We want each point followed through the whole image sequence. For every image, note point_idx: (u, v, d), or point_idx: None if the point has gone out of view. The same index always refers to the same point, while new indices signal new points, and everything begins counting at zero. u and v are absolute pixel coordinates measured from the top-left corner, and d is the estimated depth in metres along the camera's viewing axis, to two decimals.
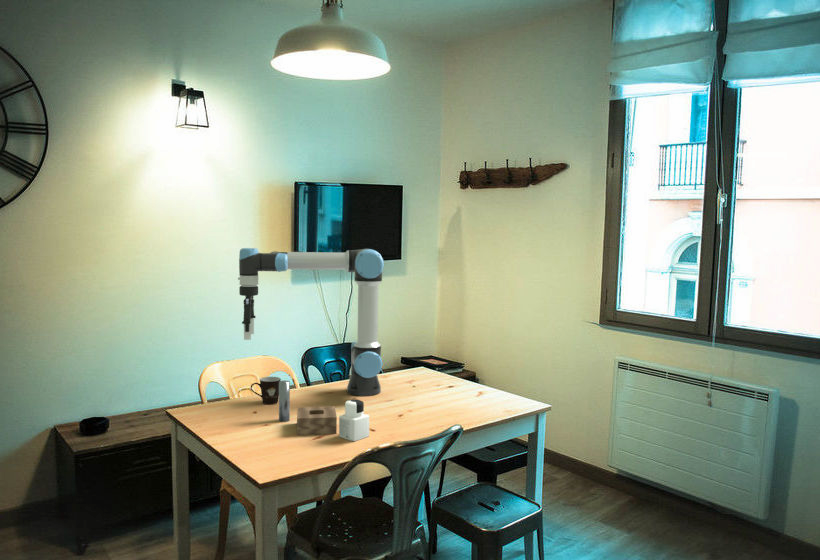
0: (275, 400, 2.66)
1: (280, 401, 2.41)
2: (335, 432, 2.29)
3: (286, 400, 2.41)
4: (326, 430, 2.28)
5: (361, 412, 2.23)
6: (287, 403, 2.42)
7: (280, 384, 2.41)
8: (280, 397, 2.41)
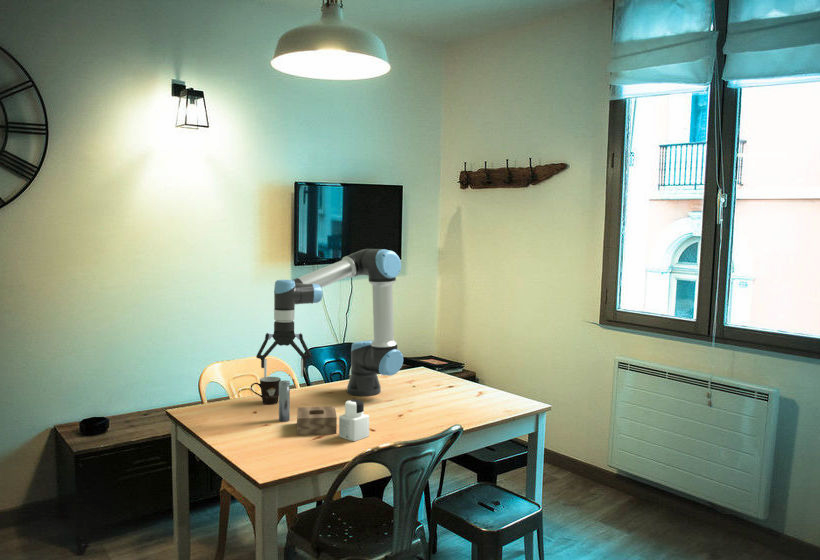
0: (275, 400, 2.66)
1: (280, 401, 2.41)
2: (335, 432, 2.29)
3: (286, 400, 2.41)
4: (326, 430, 2.28)
5: (361, 412, 2.23)
6: (287, 403, 2.42)
7: (280, 384, 2.41)
8: (280, 397, 2.41)
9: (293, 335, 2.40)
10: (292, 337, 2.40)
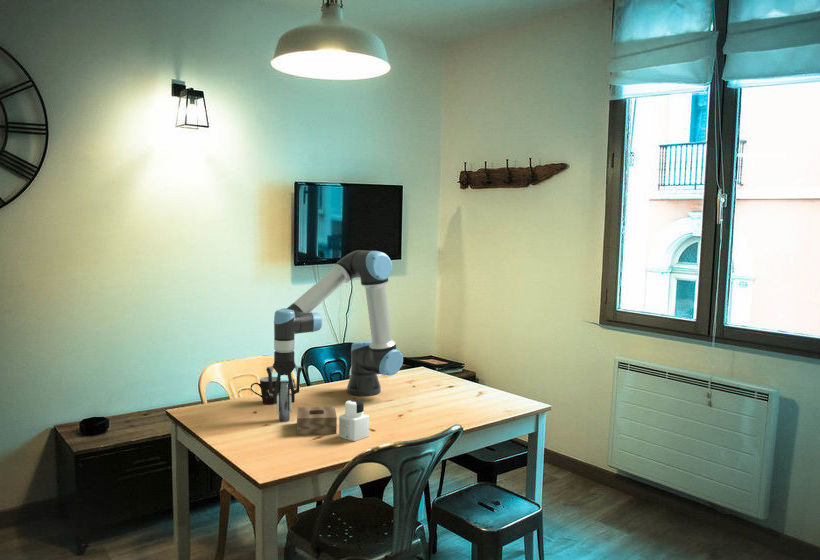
0: None
1: (280, 401, 2.41)
2: (335, 432, 2.29)
3: (286, 400, 2.41)
4: (326, 430, 2.28)
5: (361, 412, 2.23)
6: (287, 403, 2.42)
7: (280, 384, 2.41)
8: (280, 397, 2.41)
9: (293, 365, 2.41)
10: (292, 367, 2.41)
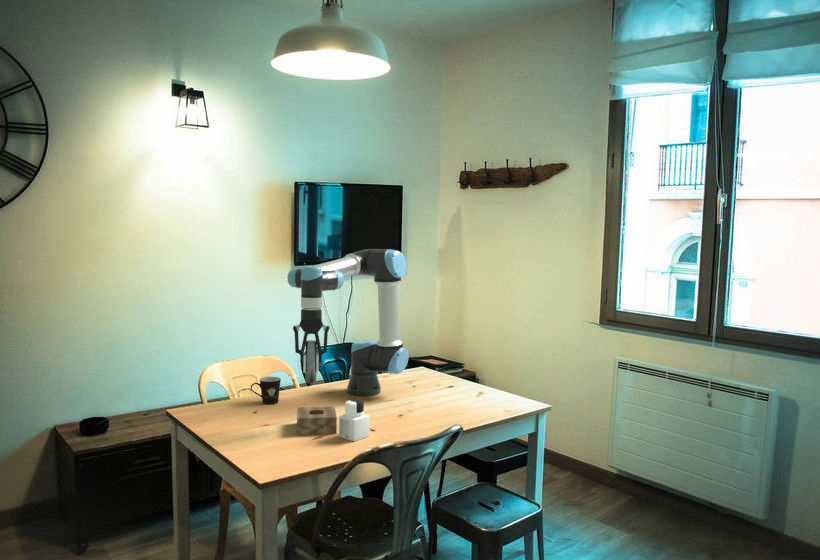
0: (275, 400, 2.66)
1: (307, 361, 2.32)
2: (335, 432, 2.29)
3: (313, 360, 2.32)
4: (326, 430, 2.28)
5: (361, 412, 2.23)
6: (314, 363, 2.33)
7: (307, 343, 2.32)
8: (307, 357, 2.32)
9: (321, 324, 2.32)
10: (319, 325, 2.32)
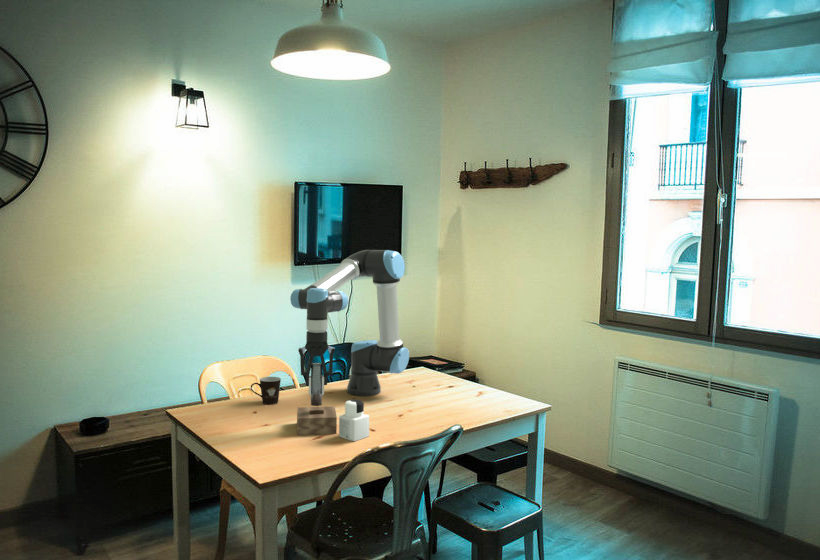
0: (275, 400, 2.66)
1: (312, 384, 2.32)
2: (335, 432, 2.29)
3: (319, 383, 2.32)
4: (326, 430, 2.28)
5: (361, 412, 2.23)
6: (319, 386, 2.32)
7: (312, 366, 2.31)
8: (312, 380, 2.31)
9: (326, 346, 2.32)
10: (325, 348, 2.32)
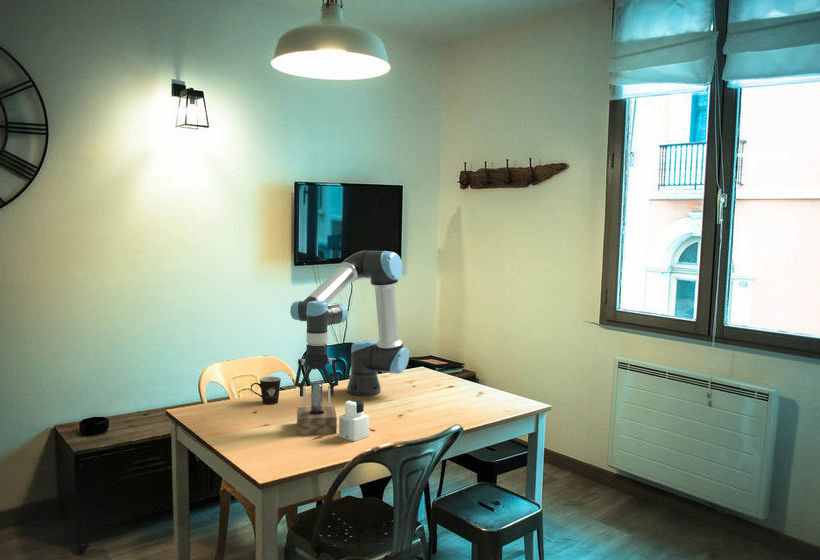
0: (275, 400, 2.66)
1: (313, 403, 2.32)
2: (335, 432, 2.29)
3: (319, 402, 2.32)
4: (326, 430, 2.28)
5: (361, 412, 2.23)
6: (320, 405, 2.32)
7: (313, 385, 2.31)
8: (313, 399, 2.32)
9: (326, 359, 2.32)
10: (325, 360, 2.32)
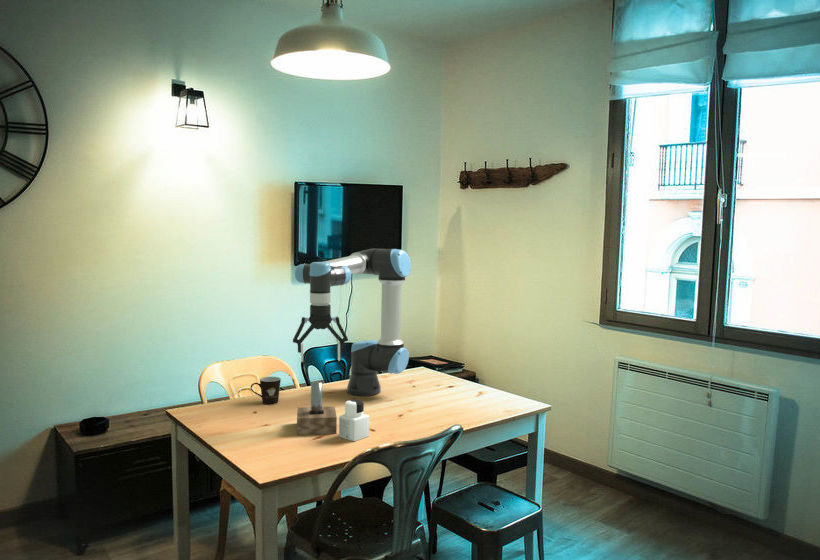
0: (275, 400, 2.66)
1: (312, 403, 2.32)
2: (335, 432, 2.29)
3: (319, 402, 2.32)
4: (326, 430, 2.28)
5: (361, 412, 2.23)
6: (320, 405, 2.33)
7: (312, 385, 2.32)
8: (312, 399, 2.32)
9: (330, 318, 2.35)
10: (329, 320, 2.35)
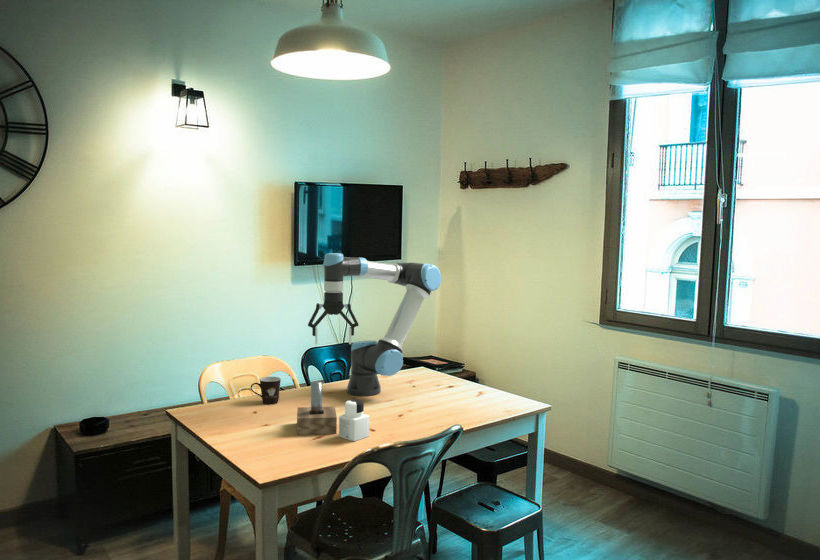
0: (275, 400, 2.66)
1: (312, 403, 2.32)
2: (335, 432, 2.29)
3: (319, 402, 2.32)
4: (326, 430, 2.28)
5: (361, 412, 2.23)
6: (320, 405, 2.33)
7: (312, 385, 2.32)
8: (312, 398, 2.32)
9: (342, 305, 2.56)
10: (341, 307, 2.56)
